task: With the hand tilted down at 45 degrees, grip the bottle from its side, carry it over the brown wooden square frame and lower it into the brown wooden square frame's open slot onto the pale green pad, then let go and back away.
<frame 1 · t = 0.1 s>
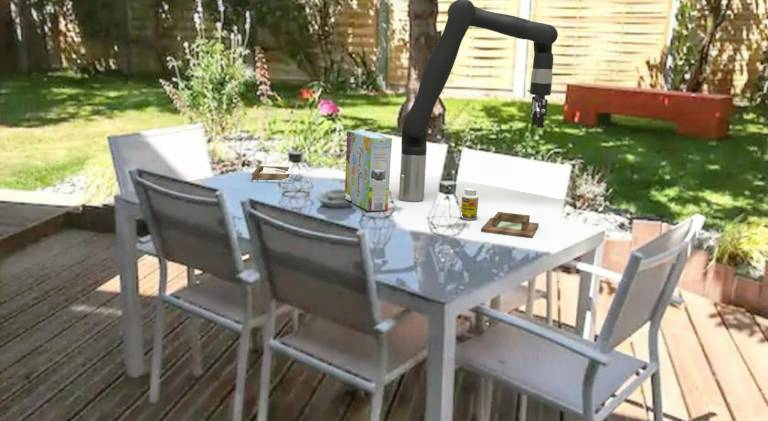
hand: (537, 126, 262), 29 cm above the table, tool pointing down, fingers open, 8 cm apart
supplement bottle: (468, 219, 242), on the table
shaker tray: (275, 178, 296), on the table
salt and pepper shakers: (274, 179, 296), on the table
snack box: (366, 205, 256), on the table
brown wooden square frame: (510, 228, 231), on the table
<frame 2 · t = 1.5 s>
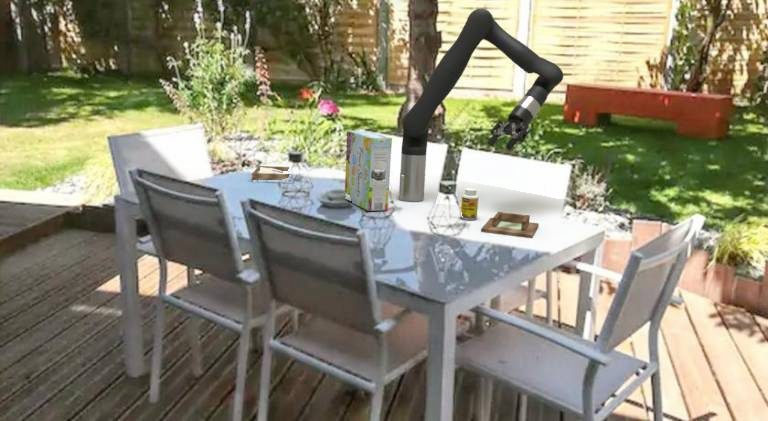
hand: (498, 146, 243), 24 cm above the table, tool tilted 45°, fingers open, 8 cm apart
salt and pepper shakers: (271, 179, 295), on the table
everything else where it was.
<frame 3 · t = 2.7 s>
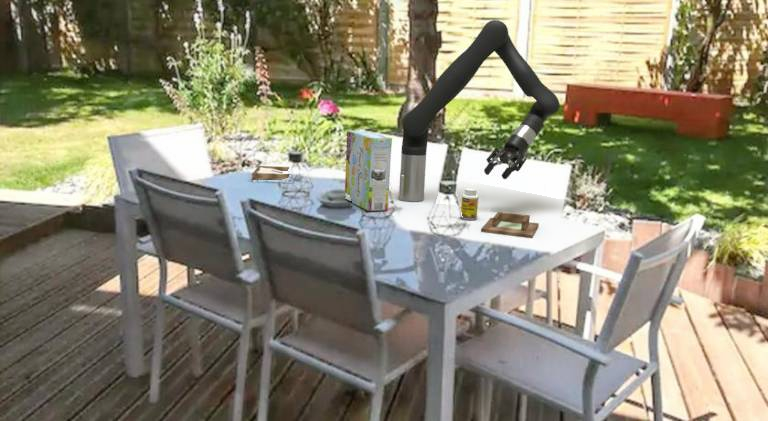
hand: (494, 175, 245), 14 cm above the table, tool tilted 45°, fingers open, 8 cm apart
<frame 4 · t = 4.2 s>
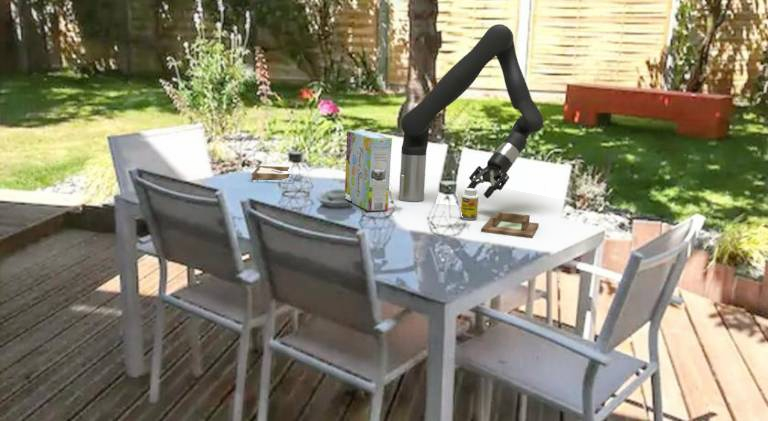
hand: (476, 194, 242), 8 cm above the table, tool tilted 45°, fingers open, 8 cm apart
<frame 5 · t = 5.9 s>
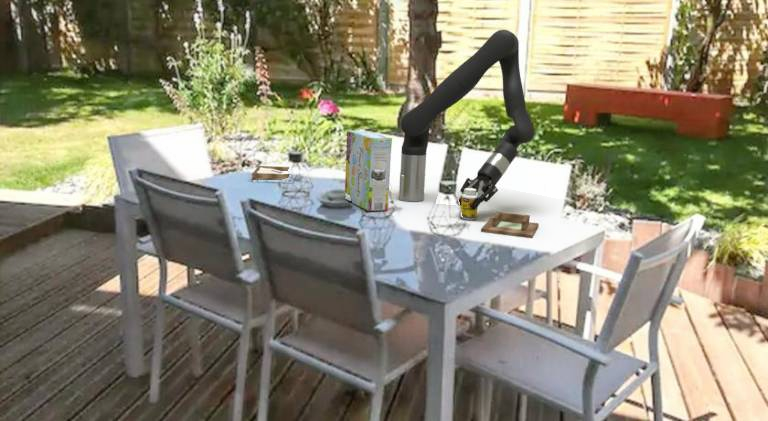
hand: (465, 206, 240), 4 cm above the table, tool tilted 45°, fingers closed on supplement bottle, 5 cm apart
supplement bottle: (468, 219, 242), on the table, touching gripper
everything else where it was.
when the fingers open (7 cm above the table, at t = 11.6 s): supplement bottle drops 1 cm, resting on brown wooden square frame.
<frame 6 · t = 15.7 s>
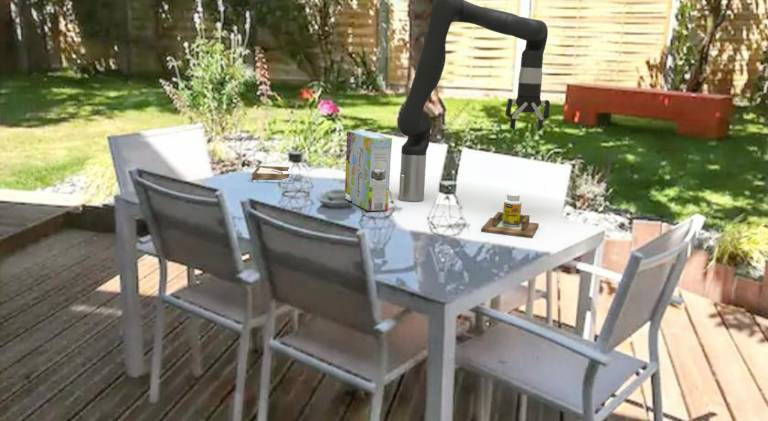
hand: (525, 130, 240), 30 cm above the table, tool pointing down, fingers open, 8 cm apart
supplement bottle: (510, 225, 231), point 1 cm above the table, touching brown wooden square frame
at the end: supplement bottle 0.2 cm from the brown wooden square frame (horizontally); supplement bottle point 1.0 cm above the table; supplement bottle tilted 0° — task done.
